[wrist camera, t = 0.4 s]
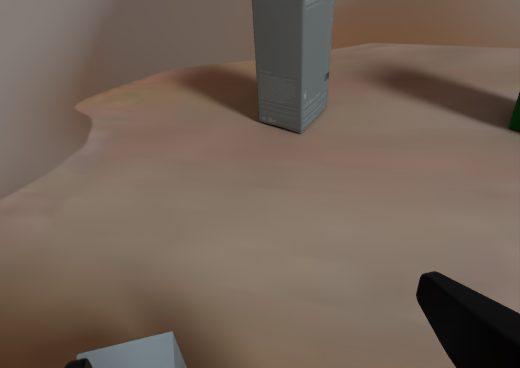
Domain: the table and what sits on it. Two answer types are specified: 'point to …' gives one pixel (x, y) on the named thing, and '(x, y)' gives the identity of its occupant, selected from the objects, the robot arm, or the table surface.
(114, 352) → the blue-grey block
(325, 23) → the skincare box
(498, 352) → the robot arm
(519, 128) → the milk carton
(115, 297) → the table surface
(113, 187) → the table surface
